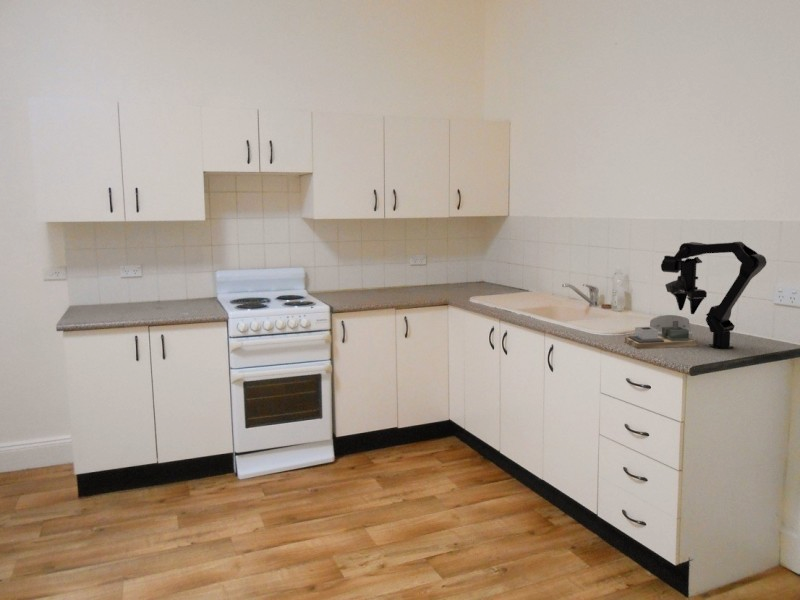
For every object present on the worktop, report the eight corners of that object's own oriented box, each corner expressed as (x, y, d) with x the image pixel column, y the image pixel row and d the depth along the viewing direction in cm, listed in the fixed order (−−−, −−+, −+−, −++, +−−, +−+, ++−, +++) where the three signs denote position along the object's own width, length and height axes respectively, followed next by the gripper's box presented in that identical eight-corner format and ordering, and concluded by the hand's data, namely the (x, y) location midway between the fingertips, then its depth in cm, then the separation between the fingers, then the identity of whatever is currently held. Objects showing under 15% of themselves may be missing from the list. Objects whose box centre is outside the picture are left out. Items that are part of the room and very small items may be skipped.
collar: (657, 339, 252) (657, 329, 252) (641, 340, 252) (642, 330, 251) (650, 336, 259) (650, 326, 258) (634, 336, 258) (635, 327, 258)
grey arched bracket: (651, 337, 268) (650, 314, 270) (648, 339, 272) (647, 316, 274) (693, 337, 266) (691, 314, 267) (689, 339, 270) (688, 315, 272)
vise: (697, 346, 251) (698, 323, 250) (637, 348, 250) (638, 326, 248) (680, 339, 263) (681, 317, 262) (624, 341, 262) (625, 320, 260)
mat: (664, 342, 251) (664, 340, 251) (639, 343, 250) (639, 341, 250) (652, 336, 261) (652, 335, 261) (628, 337, 260) (628, 336, 260)
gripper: (657, 271, 264) (656, 309, 267) (680, 277, 246) (678, 317, 248) (683, 270, 265) (682, 307, 268) (708, 276, 247) (706, 316, 249)
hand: (686, 312), depth 258 cm, fingers open, 9 cm apart
